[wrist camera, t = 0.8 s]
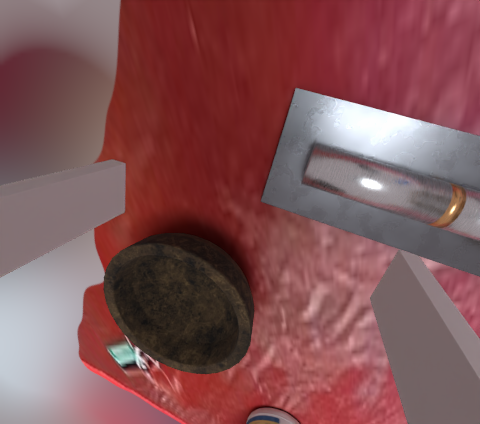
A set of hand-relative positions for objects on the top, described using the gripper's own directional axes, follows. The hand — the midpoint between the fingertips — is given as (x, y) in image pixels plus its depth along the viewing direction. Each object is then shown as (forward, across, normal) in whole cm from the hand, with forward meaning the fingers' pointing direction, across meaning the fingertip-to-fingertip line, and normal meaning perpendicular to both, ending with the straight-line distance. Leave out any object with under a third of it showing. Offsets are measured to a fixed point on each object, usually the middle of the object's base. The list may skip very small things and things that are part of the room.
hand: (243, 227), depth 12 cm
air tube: (+20, +14, 0) cm, 24 cm away
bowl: (+22, -8, -22) cm, 32 cm away
